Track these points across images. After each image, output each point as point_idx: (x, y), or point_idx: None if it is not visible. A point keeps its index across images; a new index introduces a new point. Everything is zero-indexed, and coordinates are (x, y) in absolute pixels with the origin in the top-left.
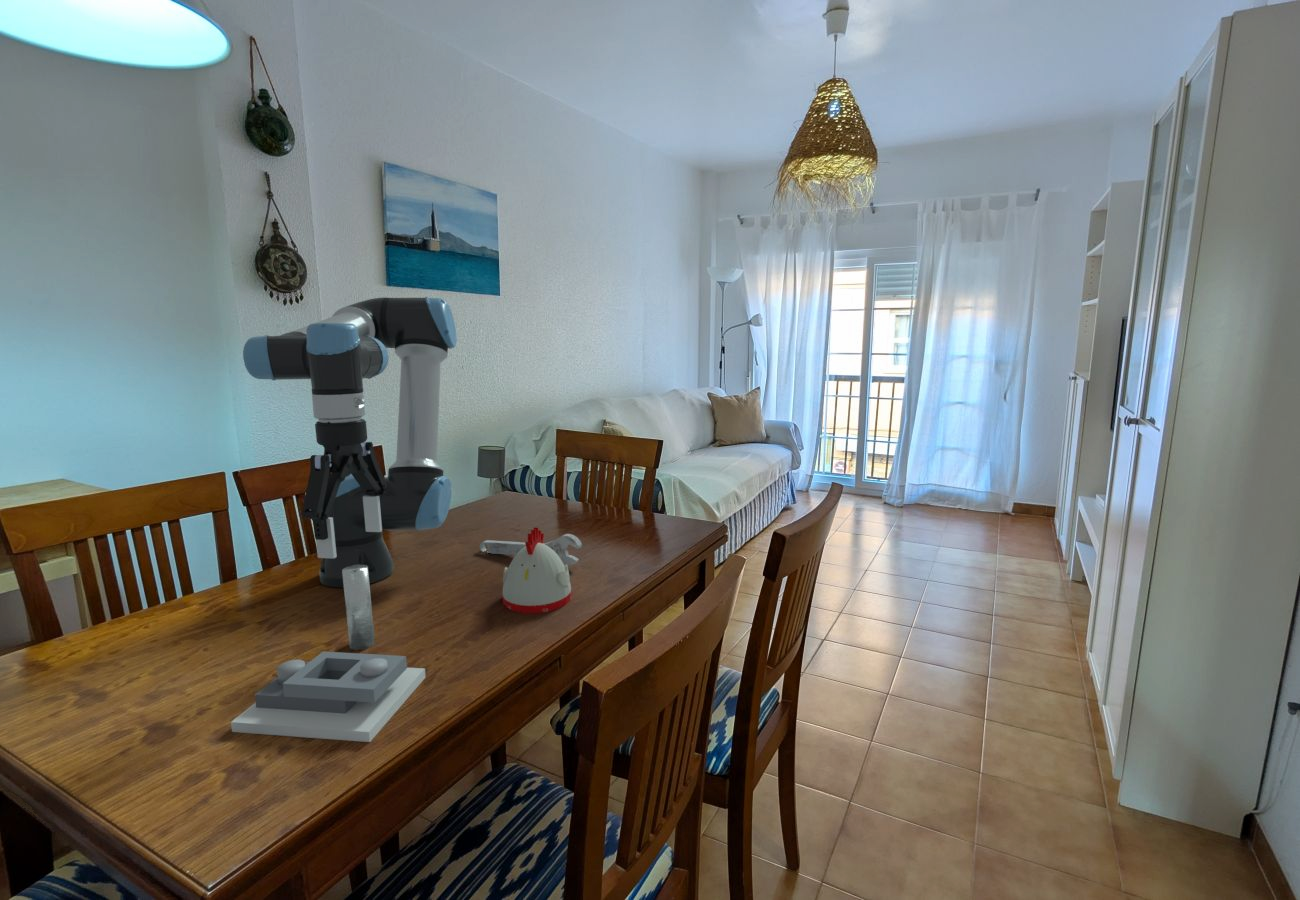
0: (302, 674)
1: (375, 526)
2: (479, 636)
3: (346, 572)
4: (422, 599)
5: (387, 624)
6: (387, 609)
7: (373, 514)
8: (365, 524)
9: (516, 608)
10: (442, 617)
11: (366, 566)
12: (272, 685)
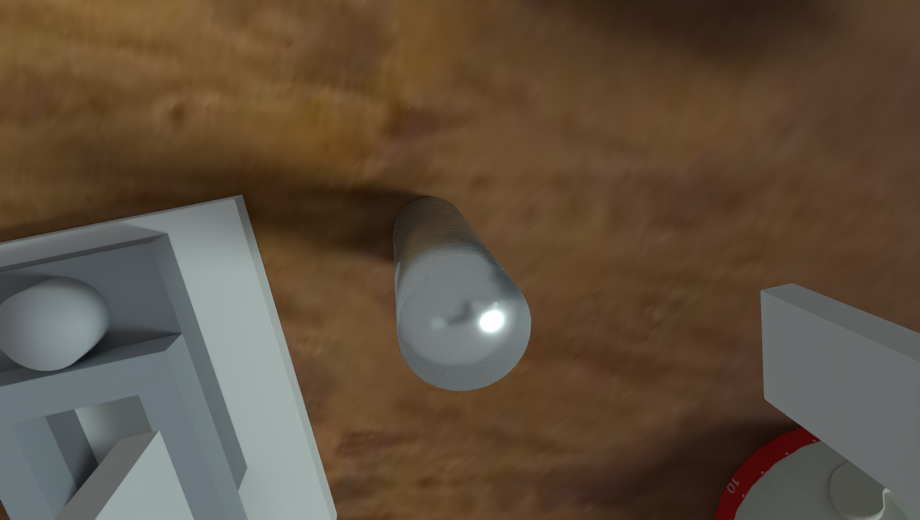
0: (23, 408)
1: (796, 391)
2: (563, 503)
3: (404, 327)
4: (756, 194)
5: (566, 211)
6: (664, 129)
7: (891, 446)
8: (808, 312)
9: (724, 514)
10: (646, 342)
11: (510, 363)
12: (6, 292)
